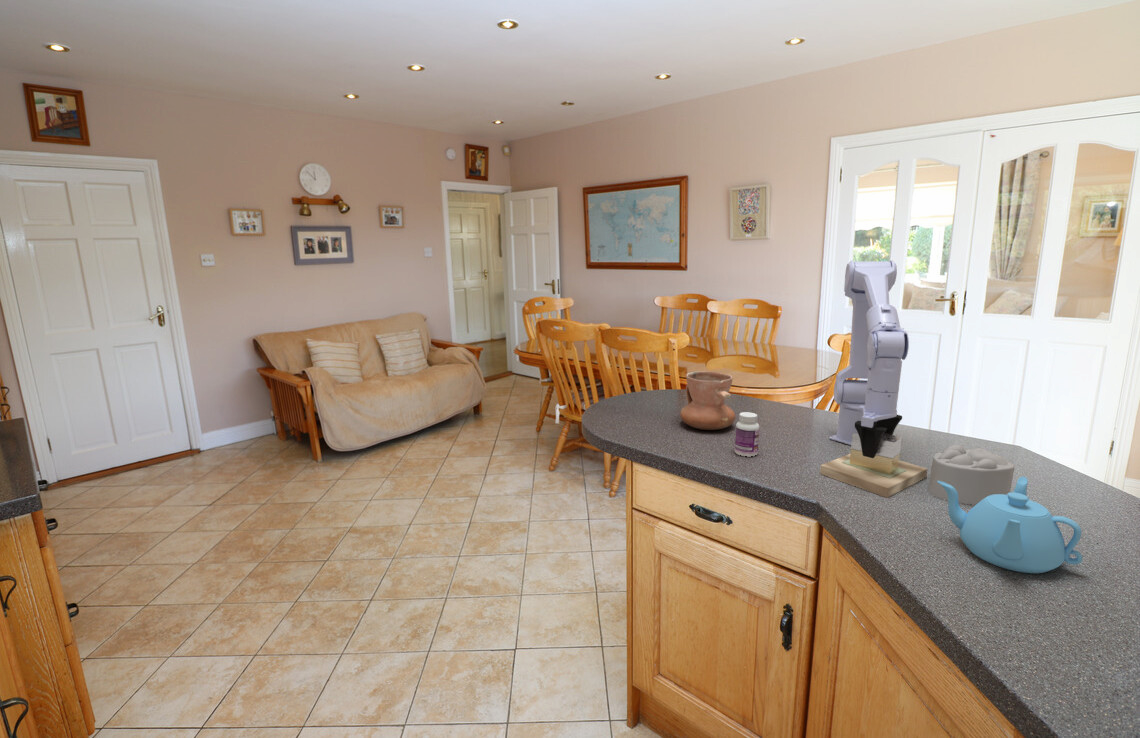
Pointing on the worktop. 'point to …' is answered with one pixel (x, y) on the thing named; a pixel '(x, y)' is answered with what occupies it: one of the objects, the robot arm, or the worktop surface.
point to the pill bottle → (747, 435)
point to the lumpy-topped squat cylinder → (970, 474)
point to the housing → (877, 454)
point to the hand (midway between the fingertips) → (875, 451)
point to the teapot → (1014, 531)
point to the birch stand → (874, 476)
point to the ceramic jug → (707, 401)
